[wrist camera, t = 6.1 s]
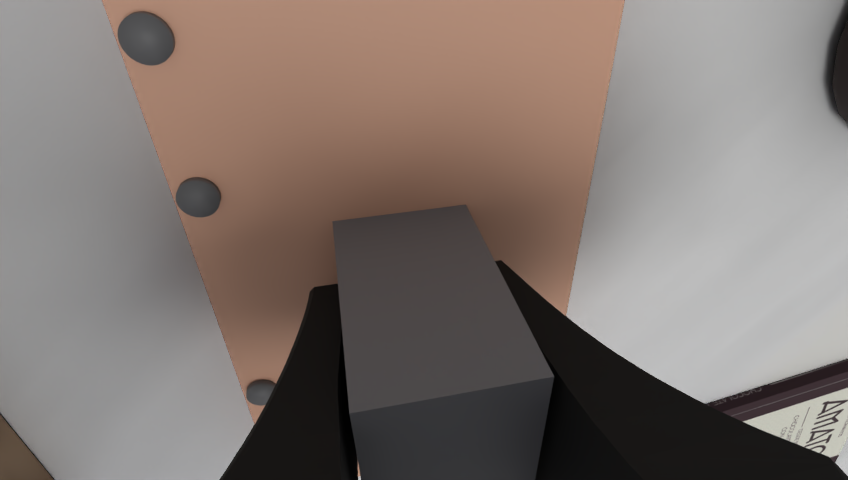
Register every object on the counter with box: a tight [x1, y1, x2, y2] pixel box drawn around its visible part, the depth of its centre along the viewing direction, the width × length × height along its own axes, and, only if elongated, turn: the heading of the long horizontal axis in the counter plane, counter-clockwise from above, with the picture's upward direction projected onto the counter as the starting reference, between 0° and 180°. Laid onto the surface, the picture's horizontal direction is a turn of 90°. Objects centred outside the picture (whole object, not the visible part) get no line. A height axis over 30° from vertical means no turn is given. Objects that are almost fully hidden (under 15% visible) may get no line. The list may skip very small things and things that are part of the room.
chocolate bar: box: [706, 359, 848, 462], centre depth 24 cm, size 9×1×18 cm
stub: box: [102, 0, 625, 480], centre depth 11 cm, size 16×9×6 cm, turn 1°
